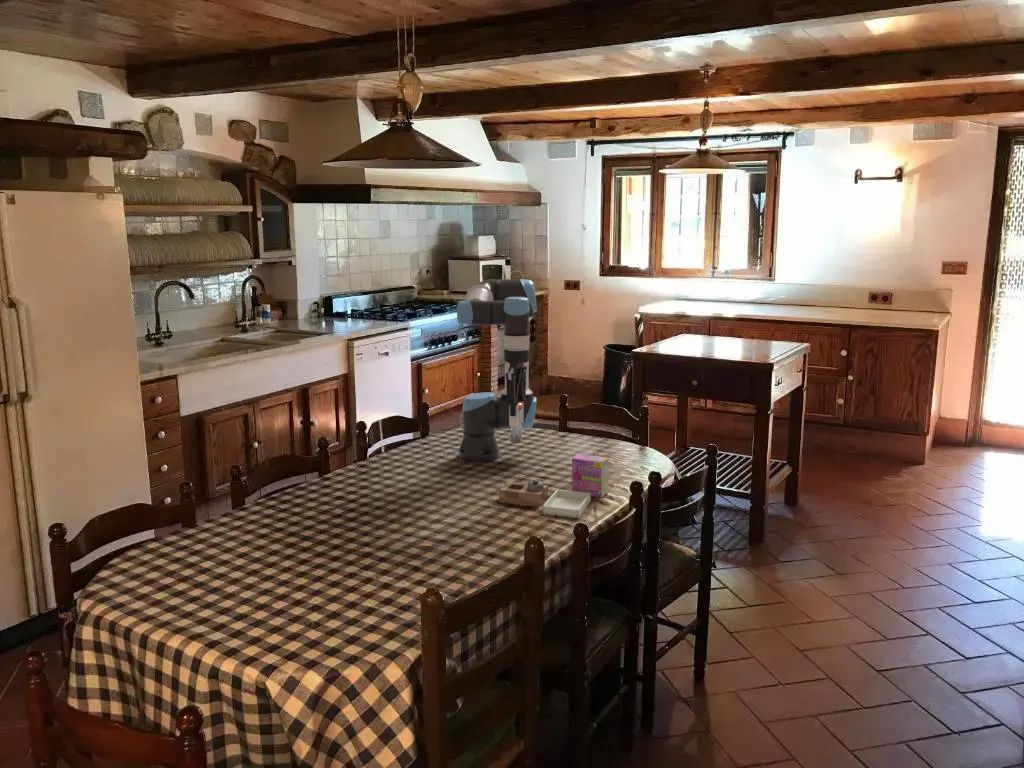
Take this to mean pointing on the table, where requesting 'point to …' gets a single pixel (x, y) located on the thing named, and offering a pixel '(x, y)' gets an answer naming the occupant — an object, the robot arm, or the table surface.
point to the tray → (566, 503)
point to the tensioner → (524, 493)
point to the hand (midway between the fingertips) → (516, 423)
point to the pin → (517, 431)
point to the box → (590, 474)
